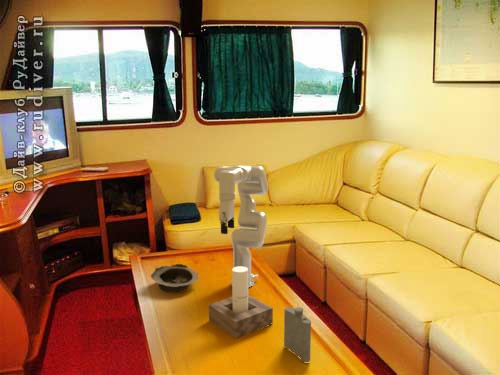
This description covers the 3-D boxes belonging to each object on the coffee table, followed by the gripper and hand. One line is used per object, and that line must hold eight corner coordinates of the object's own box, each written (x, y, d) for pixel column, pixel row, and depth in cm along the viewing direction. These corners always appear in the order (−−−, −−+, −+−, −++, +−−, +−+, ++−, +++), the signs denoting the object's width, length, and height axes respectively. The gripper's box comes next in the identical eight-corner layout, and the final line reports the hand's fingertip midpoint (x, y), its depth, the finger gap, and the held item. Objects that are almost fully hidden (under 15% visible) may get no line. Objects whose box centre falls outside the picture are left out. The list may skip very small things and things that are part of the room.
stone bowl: (156, 277, 283) (157, 262, 281) (200, 281, 283) (201, 265, 281) (146, 295, 259) (147, 278, 257) (194, 299, 259) (195, 282, 257)
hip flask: (282, 346, 210) (283, 302, 206) (290, 343, 212) (291, 300, 208) (305, 364, 197) (306, 318, 193) (313, 361, 199) (314, 315, 195)
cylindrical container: (246, 324, 227) (246, 272, 222) (231, 323, 229) (230, 271, 223) (249, 317, 234) (249, 266, 229) (234, 315, 235) (234, 265, 230)
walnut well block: (244, 308, 246) (244, 292, 244) (272, 324, 229) (272, 308, 228) (209, 320, 233) (208, 304, 231) (235, 338, 217) (235, 321, 215)
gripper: (225, 191, 247) (226, 225, 251) (213, 199, 231) (214, 235, 235) (240, 192, 245) (240, 226, 249) (228, 201, 229) (229, 236, 233)
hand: (227, 230), depth 242 cm, fingers open, 9 cm apart
